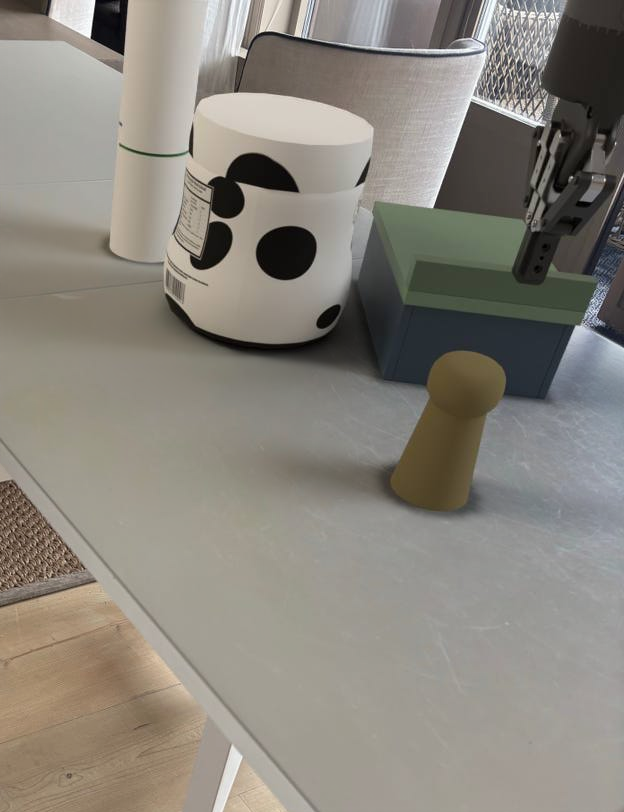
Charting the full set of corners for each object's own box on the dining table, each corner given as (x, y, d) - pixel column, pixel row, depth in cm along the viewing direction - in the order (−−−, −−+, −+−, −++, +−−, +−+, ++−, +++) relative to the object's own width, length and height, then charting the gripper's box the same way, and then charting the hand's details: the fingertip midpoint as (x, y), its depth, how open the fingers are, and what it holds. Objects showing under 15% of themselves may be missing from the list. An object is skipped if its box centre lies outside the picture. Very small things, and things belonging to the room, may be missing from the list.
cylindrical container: (168, 243, 107) (200, -30, 90) (181, 269, 102) (218, -16, 85) (104, 240, 105) (125, -38, 89) (114, 266, 100) (137, -23, 83)
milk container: (361, 319, 97) (413, 121, 85) (298, 384, 85) (348, 165, 73) (205, 271, 102) (233, 78, 90) (125, 327, 90) (145, 112, 78)
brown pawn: (371, 488, 73) (412, 352, 66) (417, 464, 77) (461, 332, 69) (437, 527, 70) (488, 389, 63) (482, 500, 74) (535, 366, 66)
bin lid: (518, 231, 98) (532, 193, 96) (580, 326, 81) (598, 282, 79) (371, 213, 98) (381, 174, 95) (403, 304, 81) (416, 260, 78)
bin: (491, 305, 103) (517, 232, 98) (542, 405, 87) (576, 324, 82) (355, 289, 102) (374, 214, 97) (381, 385, 86) (405, 302, 81)
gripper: (720, 46, 58) (599, 323, 70) (646, 6, 68) (551, 254, 80) (597, 29, 58) (496, 310, 69) (541, -8, 68) (461, 243, 79)
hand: (525, 280), depth 74 cm, fingers closed
